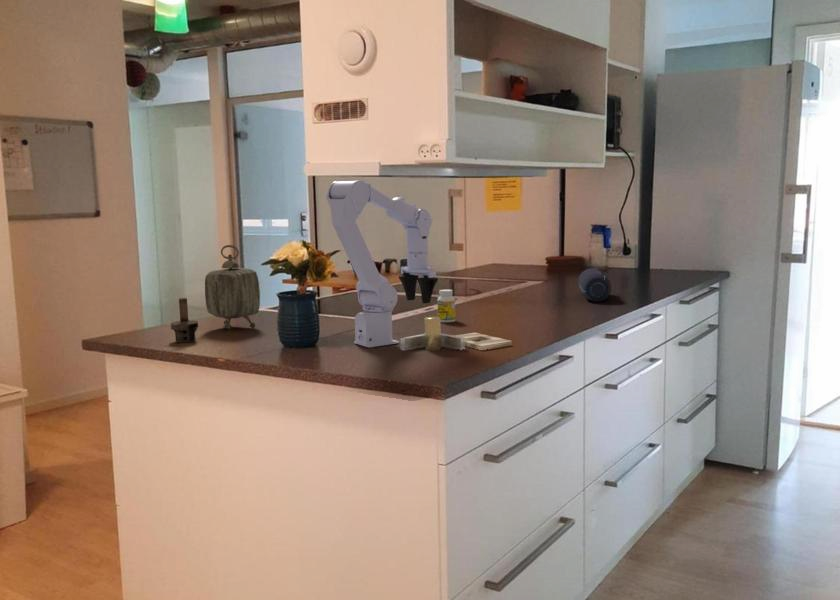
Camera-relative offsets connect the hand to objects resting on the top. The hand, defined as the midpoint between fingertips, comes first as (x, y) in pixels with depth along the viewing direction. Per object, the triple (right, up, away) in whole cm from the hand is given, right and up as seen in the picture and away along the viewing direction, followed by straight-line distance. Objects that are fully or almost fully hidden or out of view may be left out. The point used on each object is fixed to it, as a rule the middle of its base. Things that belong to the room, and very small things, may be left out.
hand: (418, 301), depth 215 cm
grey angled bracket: (+4, -12, -15) cm, 20 cm away
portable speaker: (+63, +1, +65) cm, 91 cm away
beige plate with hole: (+16, -11, -12) cm, 23 cm away
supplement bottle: (+9, -6, +23) cm, 25 cm away
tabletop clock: (-56, -8, +18) cm, 59 cm away
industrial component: (-65, -11, 0) cm, 66 cm away
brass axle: (+4, -12, -18) cm, 22 cm away
